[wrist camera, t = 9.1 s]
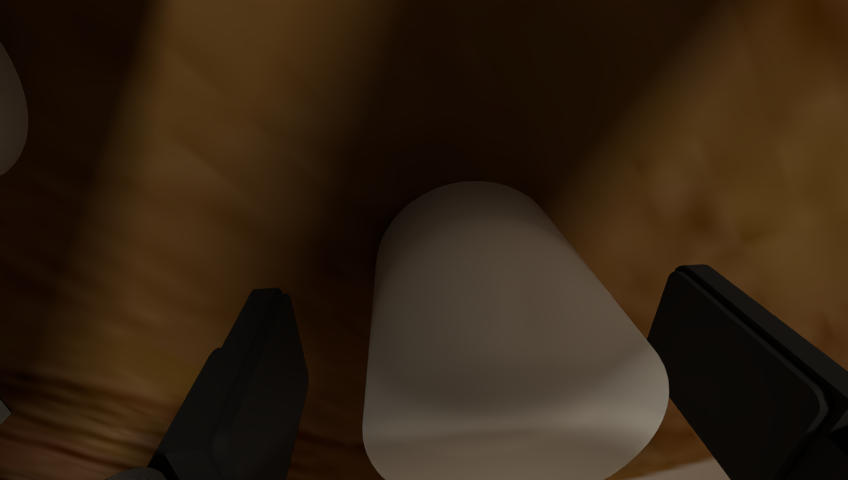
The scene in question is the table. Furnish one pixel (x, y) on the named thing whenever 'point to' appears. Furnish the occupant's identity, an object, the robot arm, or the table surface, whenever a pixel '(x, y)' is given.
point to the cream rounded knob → (11, 113)
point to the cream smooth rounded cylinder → (500, 349)
